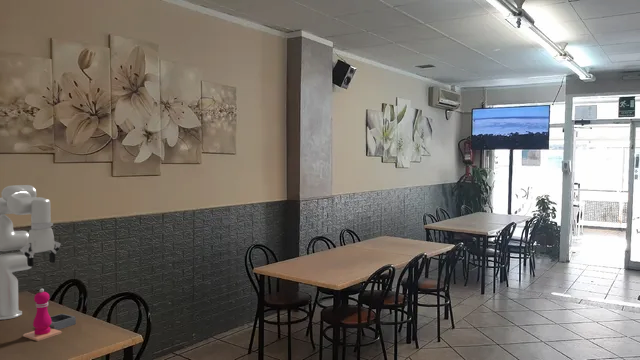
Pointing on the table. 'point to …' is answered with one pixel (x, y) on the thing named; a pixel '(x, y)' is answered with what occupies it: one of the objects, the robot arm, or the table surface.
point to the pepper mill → (42, 313)
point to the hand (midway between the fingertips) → (41, 264)
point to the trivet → (40, 337)
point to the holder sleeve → (62, 321)
